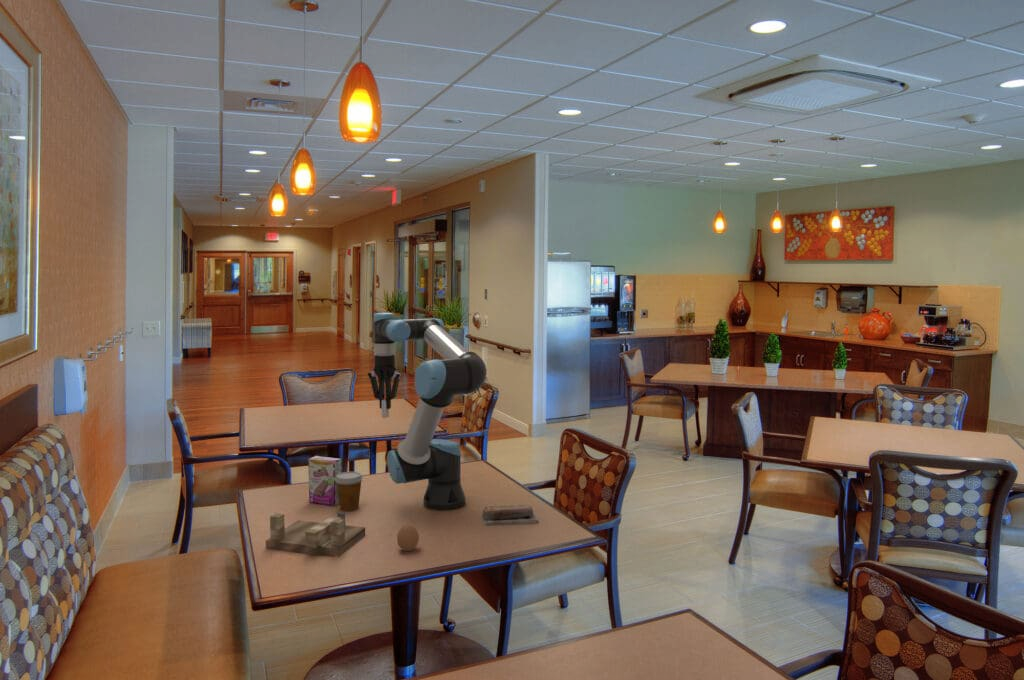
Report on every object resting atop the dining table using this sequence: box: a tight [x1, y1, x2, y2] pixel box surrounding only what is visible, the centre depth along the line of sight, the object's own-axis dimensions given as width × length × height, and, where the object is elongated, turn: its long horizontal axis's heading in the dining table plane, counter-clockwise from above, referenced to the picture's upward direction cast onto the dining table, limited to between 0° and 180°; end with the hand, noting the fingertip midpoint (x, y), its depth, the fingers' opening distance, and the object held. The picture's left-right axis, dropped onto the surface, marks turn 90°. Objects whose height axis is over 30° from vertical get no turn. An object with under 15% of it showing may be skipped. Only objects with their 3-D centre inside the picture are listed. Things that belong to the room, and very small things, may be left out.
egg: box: [396, 523, 420, 552], centre depth 213 cm, size 6×6×8 cm
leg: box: [305, 515, 342, 548], centre depth 215 cm, size 14×4×4 cm, turn 161°
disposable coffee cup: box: [335, 471, 364, 512], centre depth 251 cm, size 10×10×12 cm
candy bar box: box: [307, 455, 343, 507], centre depth 256 cm, size 11×5×16 cm, turn 71°
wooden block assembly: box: [265, 511, 366, 557], centre depth 220 cm, size 24×18×10 cm
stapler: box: [481, 504, 539, 526], centre depth 241 cm, size 18×5×10 cm
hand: (385, 417), depth 264 cm, fingers closed
